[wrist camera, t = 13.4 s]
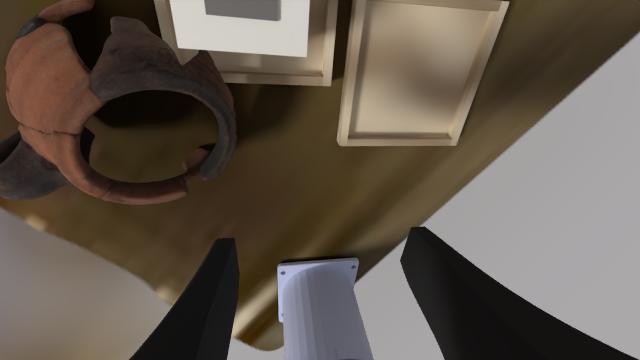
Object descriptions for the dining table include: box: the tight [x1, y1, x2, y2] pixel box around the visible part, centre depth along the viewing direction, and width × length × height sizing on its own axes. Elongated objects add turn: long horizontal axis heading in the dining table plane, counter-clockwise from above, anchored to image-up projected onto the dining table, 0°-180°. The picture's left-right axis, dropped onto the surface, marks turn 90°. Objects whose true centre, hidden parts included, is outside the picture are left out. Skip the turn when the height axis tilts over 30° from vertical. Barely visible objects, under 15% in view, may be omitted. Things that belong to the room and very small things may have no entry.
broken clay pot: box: [0, 0, 237, 205], centre depth 14 cm, size 12×10×8 cm
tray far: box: [337, 0, 509, 146], centre depth 17 cm, size 9×9×1 cm
